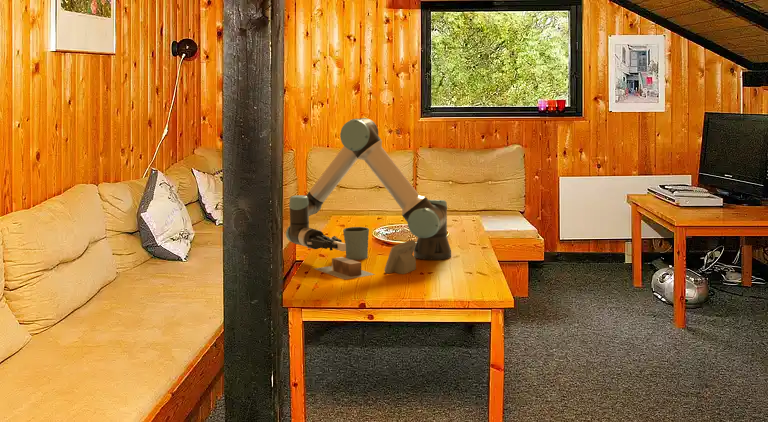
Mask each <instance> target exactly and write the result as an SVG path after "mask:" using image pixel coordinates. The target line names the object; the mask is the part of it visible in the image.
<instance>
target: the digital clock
mask: <svg viewBox="0 0 768 422" xmlns="http://www.w3.org/2000/svg"><path fill="white" fill-rule="evenodd" d="M416 242H417V241H415V240H413V239H411V240H408V241H405V242H402V243H399V244H395V245H393V246H392V247H391V249H390V251H389V253H388V259H387V260H386V264H385V267H384V273H385V274H392V273H396V274H399V275H401V274H402V275H405V274H408V273H411V272H413V271H416V269H417V263H416V262H417V258H415V257H414V248H415V245H416Z"/></svg>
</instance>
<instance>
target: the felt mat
mask: <svg viewBox="0 0 768 422" xmlns="http://www.w3.org/2000/svg"><path fill="white" fill-rule="evenodd" d="M314 270H316V271H319V272H321V273H324V274H328V275H330V276H333V277H336V278H339V279H342V280H349V279H357V278H363V277H368V276H373V275H375V276H376V274H375V273H372V272H369V271H366V270H362V269H361V275H358V276H352V277H351V276H348V275H345V274H342V273H339V272H336V271H333V270H332V265H331V266H330V265H329V266H322V267H317V268H314Z"/></svg>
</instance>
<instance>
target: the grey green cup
mask: <svg viewBox="0 0 768 422" xmlns="http://www.w3.org/2000/svg"><path fill="white" fill-rule="evenodd" d="M342 232H343V238H344V243H345V244H346V251H345V258H347V259H351V260H354V261H359V260H361V261H362V260H366V259H368V257H369V254H368V253H369V252H368V251H369V248H368V247H369V235H370V233H369V232H370V228H368V227H365V226H364V227H363V226H351V227H346V228H343V231H342Z"/></svg>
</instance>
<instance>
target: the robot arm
mask: <svg viewBox="0 0 768 422" xmlns="http://www.w3.org/2000/svg"><path fill="white" fill-rule="evenodd" d="M339 137H340V141H341V144H342V145H343V147H342V148H341V149H340V151H339V152H338V153H337V155H335V157H334V158H333V160H332V161H331V162H330V163H329V165H328V166H327V168H326V169H325V171H323V172H322V174H321V176H320V177H318V178H319V179H318V180H317V181H316V182H315V184H314V185H313V186H312V187H311V188H310V189H309V191H308V192H307V194H306V195H302V194H301V195H292V196H290V198H289V203H288V207H289V226H288V227H287V229H286V231H285V236H286V238H287V240H288V241H289V242H291V243H293V244H295V245H300V246H303V247H307V249H312V250H318V249H324V250H328V249H329V251H334V250H336V251H339V252H346V244H345V242H343V241H342V239H340V238H338V237H337V236H336V235H334V236H331V237H329V236H327V235H326V234H324V232H322V231H321V230H320V229H315V228H311V227H310V216H312V215H316V214H317V213H319V211H320V210H321V209H322V205H324V202H326V200H327V198H328V197H330V195H331V194H332V192H333V191H335V189H336V188H337V186H338V185H339V183H340V182H341V181H342V179H344V177H345V176H346V175H347V174H348V172H349V171H350V169H351V168H352V167H353V166H354V164H355V163H357V161H358V160H362V161H364V162H365V164H367V166H368V167H369V168H370V170H371V171H372V173H374V175H375V176H376V178H377V179H378V180H379V181H380V183H381V184H382V186H384V188H385V190H386V191H388V193H389V195H390V196H391V197H392V198H393V199H394V201H395V202H396V204H398V206H399V207H400V209H401V215H402V218H404V220H405V221H406V222H407V227H408V229H409V231H410V233H411V234H412V235H413V236H415V237H417V239H416V241H415V242H416V245H415V248H414V251H413V256H414V257H415V259H419V260H426V261H436V260H446V259H449V258H451V257H452V249H451V248H452V247H451V246H450V243H449V239H448V203H447V201H446V200H444V199H428V197H427V196H424V195H420V194H419V193H418V191H417V190H416V188H415V187H414V186H413V185H412V184H411V182H410V181H409V180H408V179H407V177H406V176H405V175H404V173H403V172H402V171H401V169H400V168H399V166H397V165H396V163H395V162H394V160H393V159H392V158H391V156H390V155H389V154H388V153H387V151H386V150H385V148H383V145H382V143H383V140H382V139H381V138H380V136H379V128H378V126H377V124H376V123H375V121H373V120H372V119H369V118H366V117H361V118H352V119H350V120H348V121H347V122H345V123H344V124H343V126H342V127H341V130H340V133H339ZM333 249H334V250H333Z"/></svg>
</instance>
